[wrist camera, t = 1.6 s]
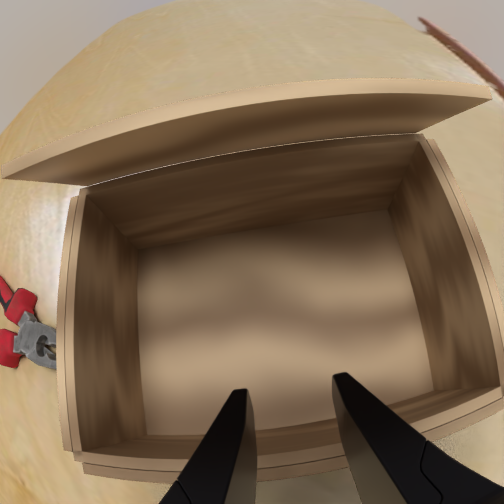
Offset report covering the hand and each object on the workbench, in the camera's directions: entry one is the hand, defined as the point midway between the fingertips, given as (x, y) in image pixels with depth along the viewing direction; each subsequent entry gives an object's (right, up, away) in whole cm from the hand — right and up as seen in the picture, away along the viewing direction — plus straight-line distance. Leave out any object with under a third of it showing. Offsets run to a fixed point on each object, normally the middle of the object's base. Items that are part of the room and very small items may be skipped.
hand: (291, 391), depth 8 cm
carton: (+1, -1, +14) cm, 14 cm away
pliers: (-25, -4, +17) cm, 30 cm away
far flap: (-1, +9, +5) cm, 11 cm away
